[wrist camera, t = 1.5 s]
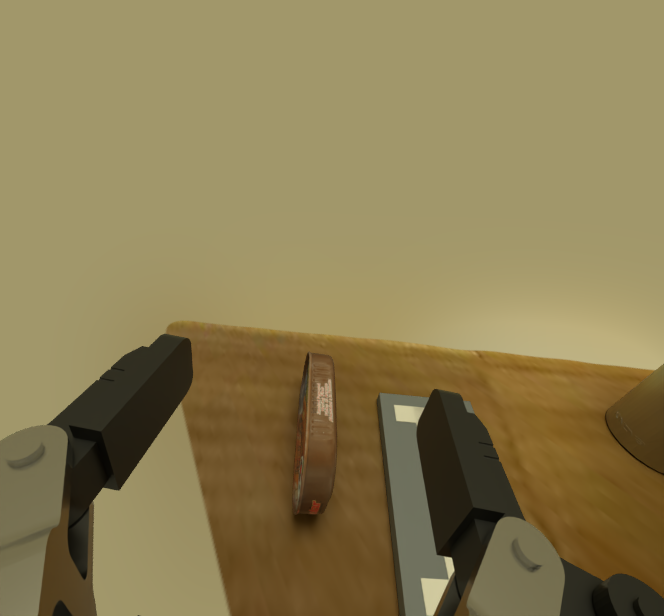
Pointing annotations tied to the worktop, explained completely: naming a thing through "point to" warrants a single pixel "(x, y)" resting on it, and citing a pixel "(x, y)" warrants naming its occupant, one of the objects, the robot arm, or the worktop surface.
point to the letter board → (410, 508)
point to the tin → (315, 437)
